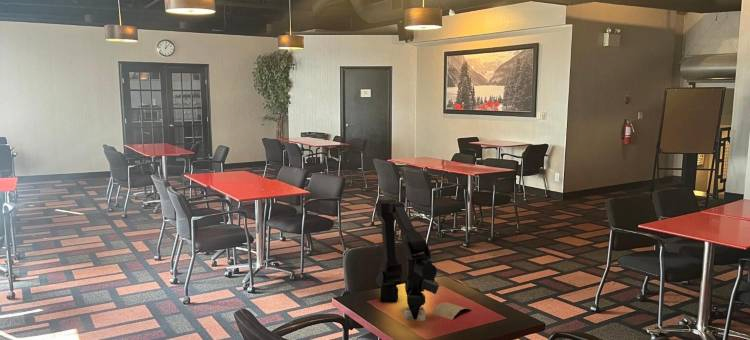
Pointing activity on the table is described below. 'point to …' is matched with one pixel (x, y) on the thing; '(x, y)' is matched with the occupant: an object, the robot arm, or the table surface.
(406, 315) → the taped cardboard box
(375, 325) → the table surface
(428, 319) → the table surface
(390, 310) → the table surface
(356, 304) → the table surface
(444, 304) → the clay tablet
